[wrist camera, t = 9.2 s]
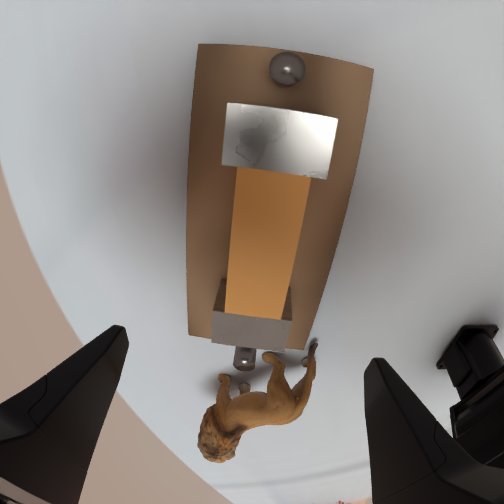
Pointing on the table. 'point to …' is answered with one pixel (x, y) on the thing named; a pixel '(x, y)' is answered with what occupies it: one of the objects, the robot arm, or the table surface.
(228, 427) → the lion figurine
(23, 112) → the table surface
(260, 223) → the hammer
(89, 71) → the table surface
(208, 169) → the board
